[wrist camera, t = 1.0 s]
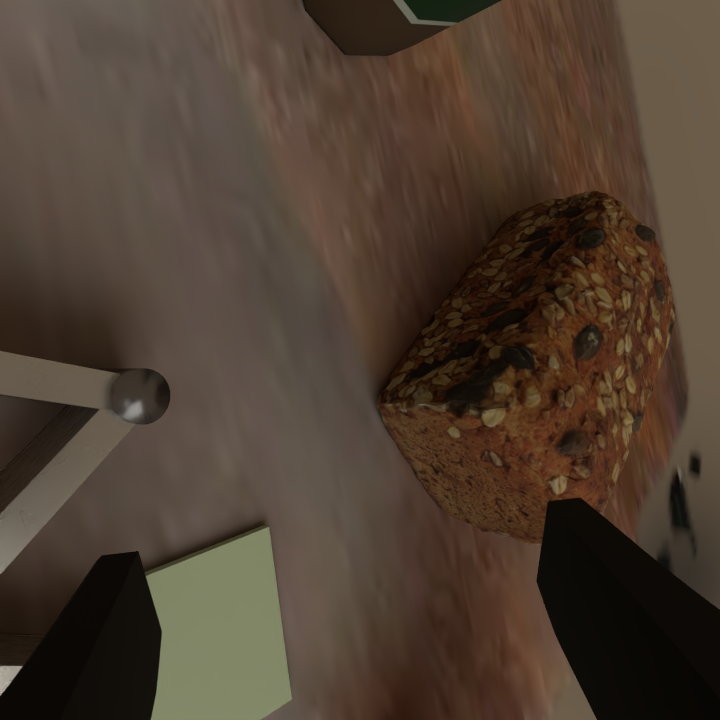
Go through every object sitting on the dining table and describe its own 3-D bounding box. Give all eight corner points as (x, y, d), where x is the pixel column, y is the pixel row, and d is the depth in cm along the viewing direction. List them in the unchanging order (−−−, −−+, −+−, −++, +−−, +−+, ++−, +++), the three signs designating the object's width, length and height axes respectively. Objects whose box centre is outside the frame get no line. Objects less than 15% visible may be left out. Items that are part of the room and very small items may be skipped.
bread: (442, 529, 36) (611, 569, 29) (352, 395, 31) (527, 403, 24) (563, 326, 46) (712, 318, 38) (508, 200, 41) (666, 164, 34)
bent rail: (-163, 790, 17) (-153, 863, 15) (-258, 335, 16) (-264, 328, 14) (164, 634, 24) (209, 666, 22) (113, 303, 23) (156, 295, 20)
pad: (110, 808, 23) (114, 814, 22) (76, 598, 22) (80, 602, 22) (286, 695, 28) (291, 699, 28) (263, 525, 27) (268, 526, 27)
